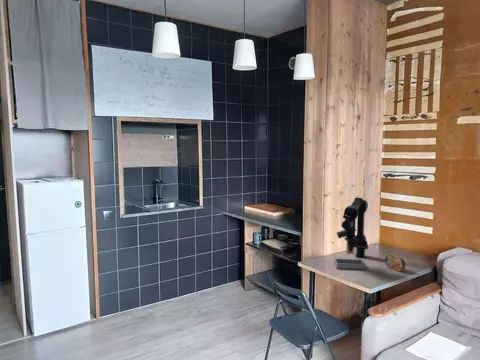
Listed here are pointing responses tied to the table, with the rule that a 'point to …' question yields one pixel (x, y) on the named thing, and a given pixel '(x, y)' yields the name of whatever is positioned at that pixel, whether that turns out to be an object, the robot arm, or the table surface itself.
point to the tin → (395, 263)
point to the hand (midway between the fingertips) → (349, 250)
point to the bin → (349, 264)
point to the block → (349, 250)
